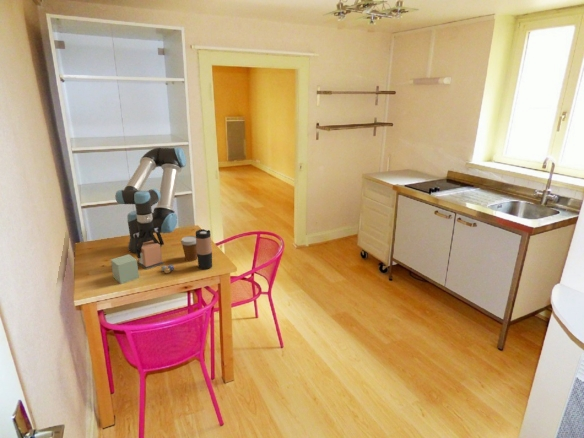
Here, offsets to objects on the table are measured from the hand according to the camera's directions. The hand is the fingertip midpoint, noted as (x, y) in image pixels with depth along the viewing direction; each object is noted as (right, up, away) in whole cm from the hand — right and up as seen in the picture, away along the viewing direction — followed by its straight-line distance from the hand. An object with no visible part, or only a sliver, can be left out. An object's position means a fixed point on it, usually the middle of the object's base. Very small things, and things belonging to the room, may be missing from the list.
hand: (150, 260), depth 200 cm
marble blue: (+13, -5, -7) cm, 16 cm away
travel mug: (+30, -3, -2) cm, 31 cm away
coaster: (0, -2, +1) cm, 2 cm away
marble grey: (+10, -5, -7) cm, 14 cm away
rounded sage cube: (-6, -7, -15) cm, 18 cm away
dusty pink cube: (0, -1, 0) cm, 1 cm away
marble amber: (+13, -6, -10) cm, 17 cm away
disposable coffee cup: (+20, 0, +7) cm, 22 cm away
